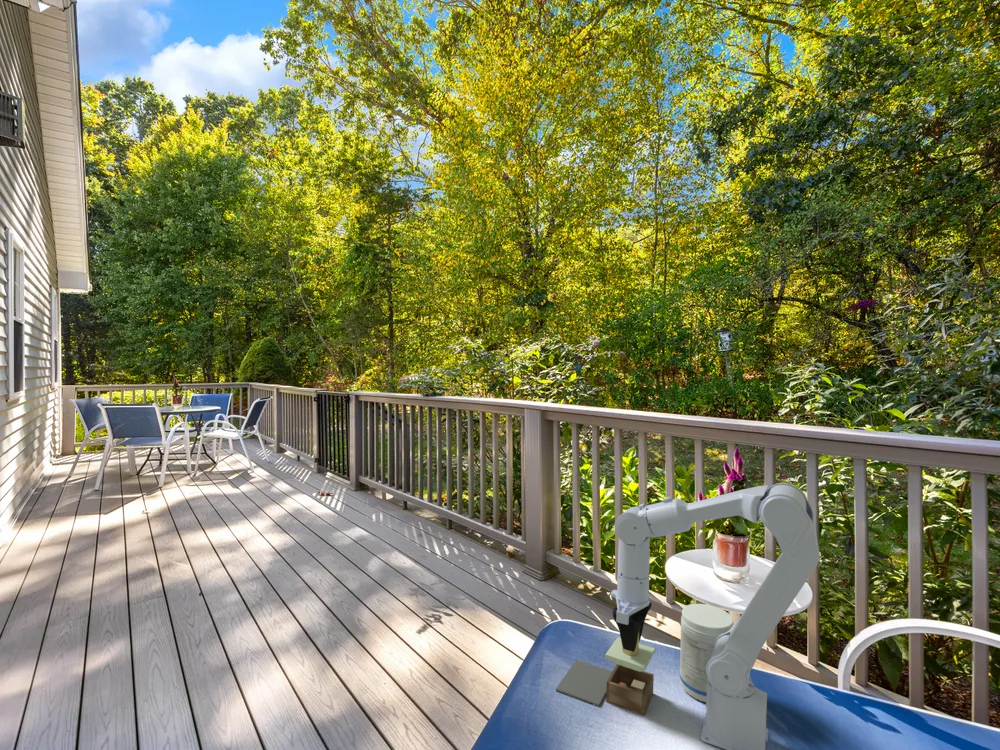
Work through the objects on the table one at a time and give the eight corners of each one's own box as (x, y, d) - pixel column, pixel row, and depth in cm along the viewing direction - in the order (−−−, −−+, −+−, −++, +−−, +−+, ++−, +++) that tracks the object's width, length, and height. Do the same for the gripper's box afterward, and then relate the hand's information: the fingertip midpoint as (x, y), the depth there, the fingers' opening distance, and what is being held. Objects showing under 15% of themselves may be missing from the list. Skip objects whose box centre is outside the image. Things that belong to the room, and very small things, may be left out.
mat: (616, 674, 100) (616, 672, 100) (598, 706, 91) (598, 704, 91) (576, 661, 105) (576, 659, 105) (555, 690, 95) (555, 688, 95)
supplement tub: (695, 668, 103) (697, 598, 103) (741, 692, 96) (744, 616, 95) (669, 686, 97) (671, 612, 97) (716, 713, 90) (719, 633, 89)
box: (653, 694, 95) (653, 674, 95) (644, 717, 89) (644, 695, 89) (616, 682, 98) (617, 662, 98) (606, 703, 92) (606, 682, 92)
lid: (654, 656, 95) (655, 627, 95) (643, 676, 89) (644, 645, 88) (617, 644, 98) (618, 616, 98) (605, 662, 92) (605, 633, 92)
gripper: (622, 555, 101) (621, 621, 102) (600, 582, 89) (598, 657, 89) (658, 563, 98) (656, 631, 98) (640, 592, 85) (638, 670, 86)
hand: (631, 644), depth 93 cm, fingers closed on lid, 3 cm apart
